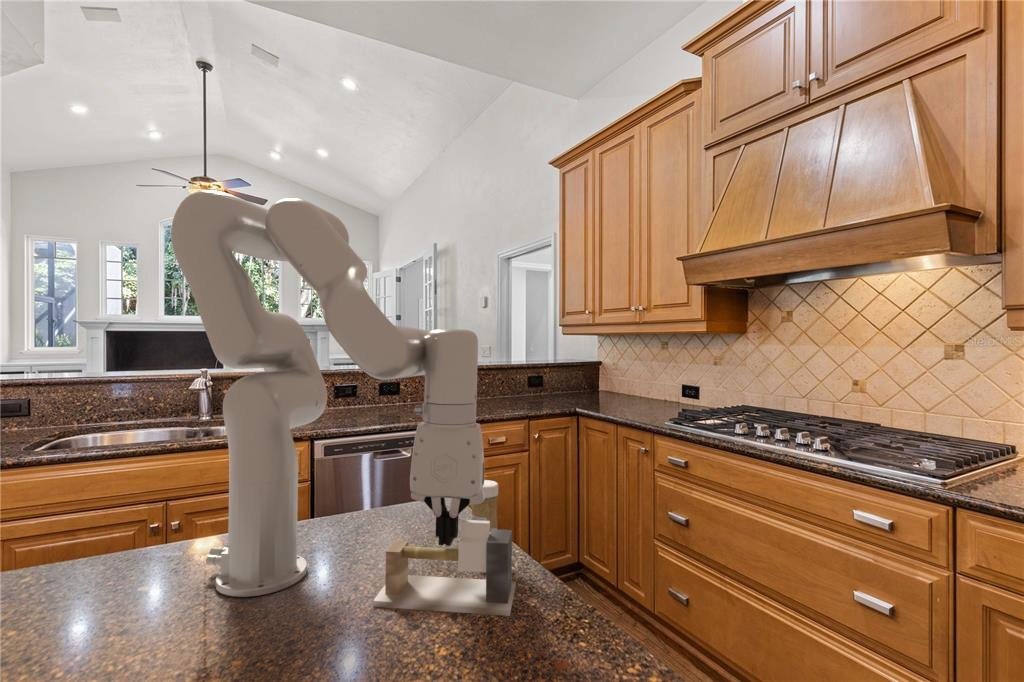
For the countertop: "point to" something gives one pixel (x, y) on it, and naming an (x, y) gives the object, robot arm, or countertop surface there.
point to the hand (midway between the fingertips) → (446, 541)
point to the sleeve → (473, 545)
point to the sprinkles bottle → (487, 505)
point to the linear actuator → (450, 580)
